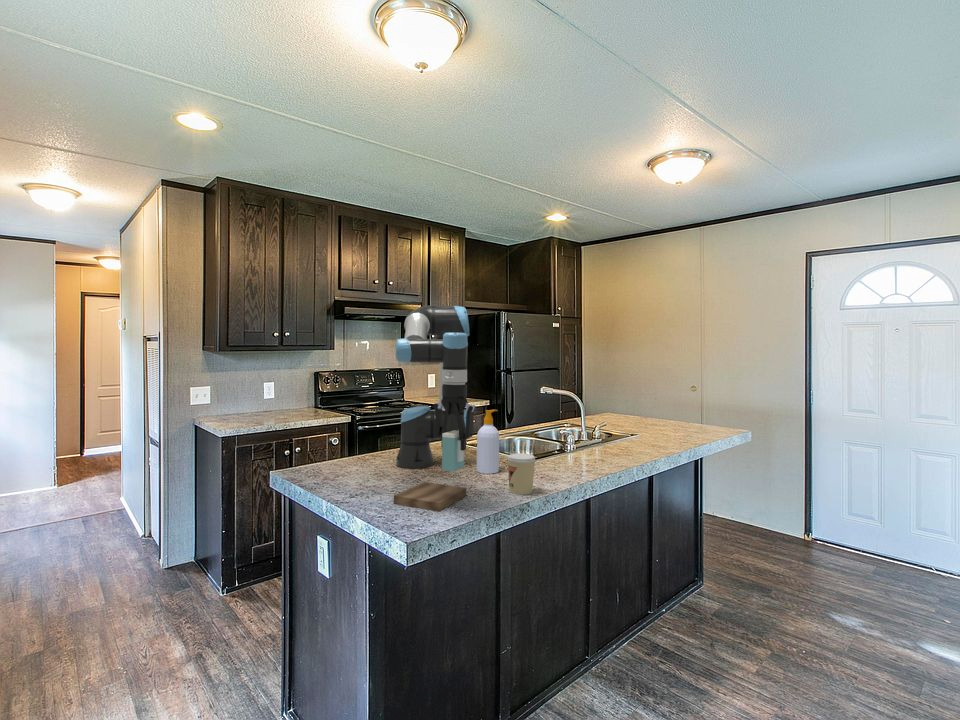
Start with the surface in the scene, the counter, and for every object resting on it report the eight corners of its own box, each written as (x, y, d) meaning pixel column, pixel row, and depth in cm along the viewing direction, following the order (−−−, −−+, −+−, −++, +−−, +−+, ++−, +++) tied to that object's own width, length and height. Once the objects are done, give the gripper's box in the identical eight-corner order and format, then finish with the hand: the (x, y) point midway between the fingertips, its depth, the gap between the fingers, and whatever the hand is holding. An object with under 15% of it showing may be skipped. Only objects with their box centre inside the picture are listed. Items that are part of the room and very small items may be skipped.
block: (441, 470, 155) (442, 433, 155) (452, 465, 162) (453, 430, 161) (453, 471, 153) (454, 434, 153) (464, 466, 160) (464, 431, 160)
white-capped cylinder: (505, 487, 178) (505, 453, 178) (531, 487, 179) (532, 453, 179) (508, 495, 169) (509, 459, 169) (537, 495, 170) (537, 459, 170)
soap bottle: (504, 471, 202) (505, 410, 201) (488, 475, 195) (489, 412, 194) (488, 467, 208) (489, 408, 207) (471, 471, 201) (472, 410, 200)
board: (393, 503, 159) (393, 495, 159) (424, 489, 175) (424, 481, 175) (438, 511, 152) (439, 503, 152) (466, 495, 168) (466, 488, 168)
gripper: (423, 382, 157) (423, 459, 158) (474, 385, 150) (473, 465, 151) (436, 381, 164) (435, 454, 165) (485, 384, 157) (484, 460, 157)
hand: (453, 459), depth 158 cm, fingers closed on block, 4 cm apart
